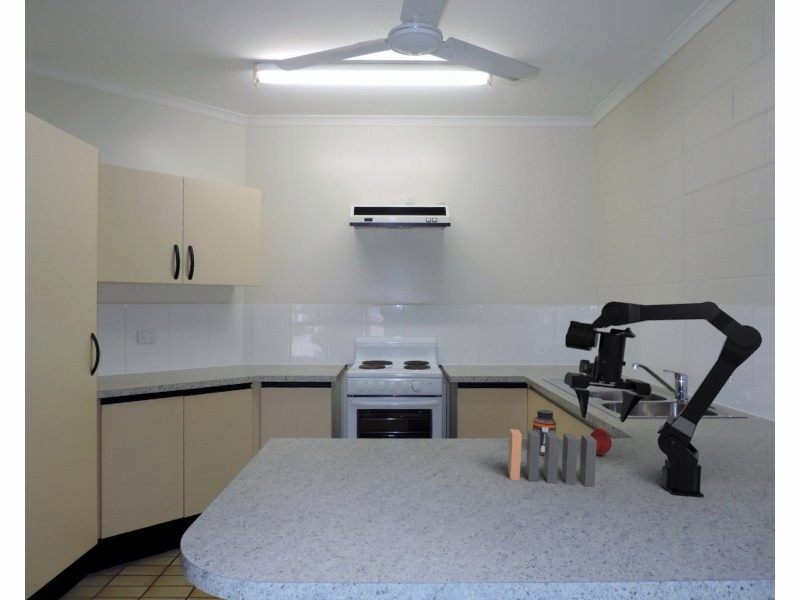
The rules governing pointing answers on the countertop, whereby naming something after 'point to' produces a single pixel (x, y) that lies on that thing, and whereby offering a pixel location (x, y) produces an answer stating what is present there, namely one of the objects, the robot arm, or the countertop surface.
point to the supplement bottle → (544, 426)
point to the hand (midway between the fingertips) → (602, 419)
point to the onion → (602, 441)
